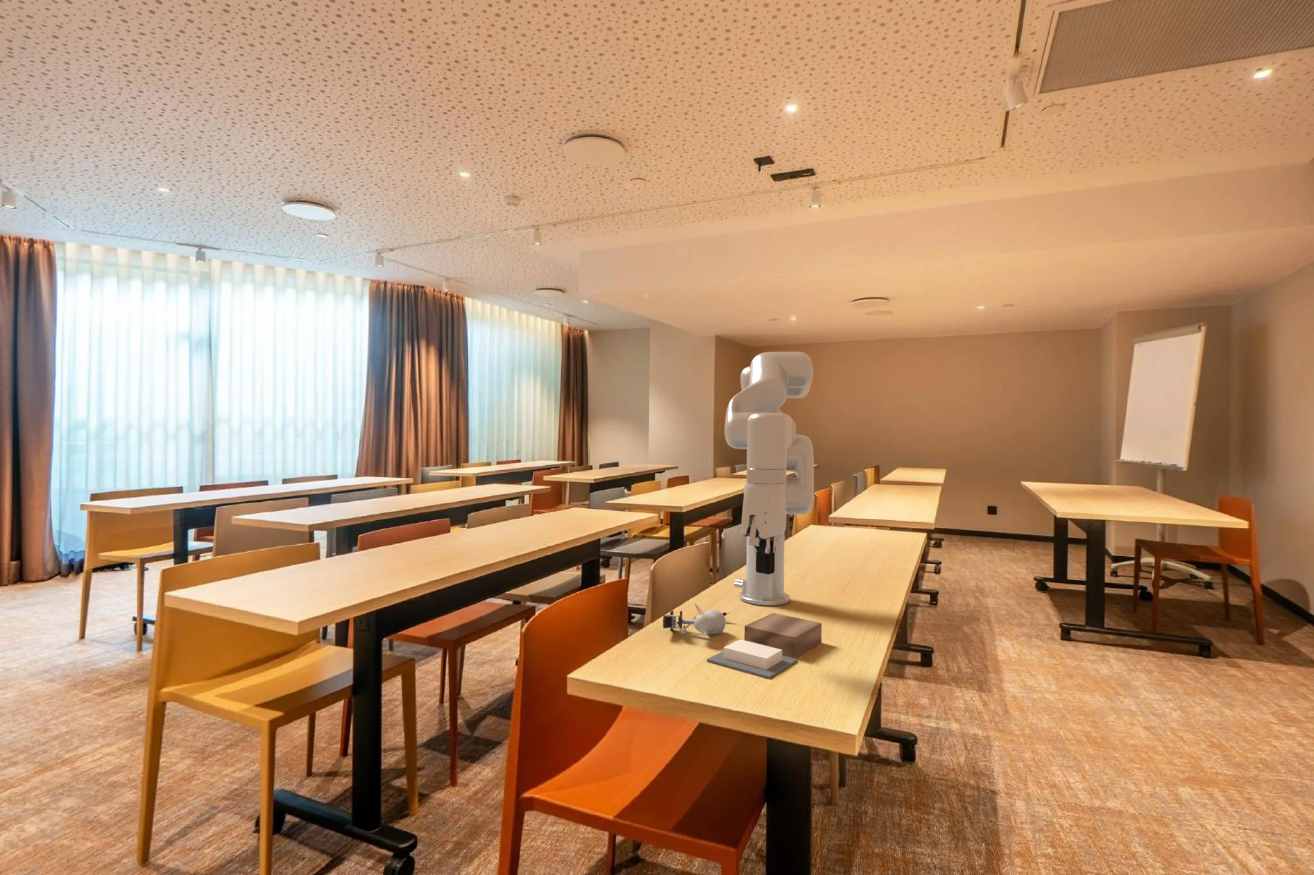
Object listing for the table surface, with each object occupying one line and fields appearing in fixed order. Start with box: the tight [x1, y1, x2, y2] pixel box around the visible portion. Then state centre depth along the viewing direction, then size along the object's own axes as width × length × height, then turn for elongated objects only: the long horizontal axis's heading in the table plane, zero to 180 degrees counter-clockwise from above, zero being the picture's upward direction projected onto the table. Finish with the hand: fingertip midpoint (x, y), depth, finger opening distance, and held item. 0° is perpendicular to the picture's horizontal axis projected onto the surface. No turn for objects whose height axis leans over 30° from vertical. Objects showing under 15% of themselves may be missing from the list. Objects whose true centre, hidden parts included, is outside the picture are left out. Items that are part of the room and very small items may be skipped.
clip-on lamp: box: [662, 602, 731, 636], centre depth 135 cm, size 12×6×18 cm
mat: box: [706, 650, 798, 680], centre depth 117 cm, size 13×11×1 cm
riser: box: [743, 612, 823, 659], centre depth 127 cm, size 11×12×4 cm
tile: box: [723, 639, 782, 670], centre depth 117 cm, size 9×6×2 cm, turn 51°
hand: (765, 572), depth 121 cm, fingers closed
